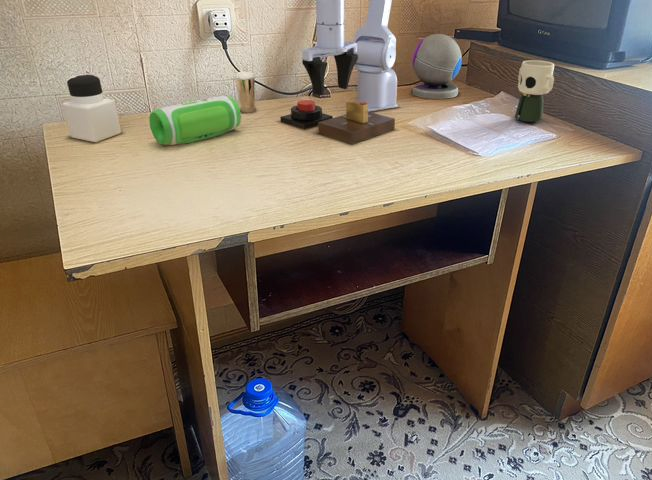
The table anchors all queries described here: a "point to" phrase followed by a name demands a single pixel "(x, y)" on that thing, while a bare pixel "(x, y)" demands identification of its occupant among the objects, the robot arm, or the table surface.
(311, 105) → the release button
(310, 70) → the robot arm
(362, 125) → the lock plate
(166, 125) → the speaker
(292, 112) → the black button base
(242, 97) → the milkshake
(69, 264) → the table surface
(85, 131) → the medicine bottle
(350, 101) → the tan red block
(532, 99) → the character mug
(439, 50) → the webcam
